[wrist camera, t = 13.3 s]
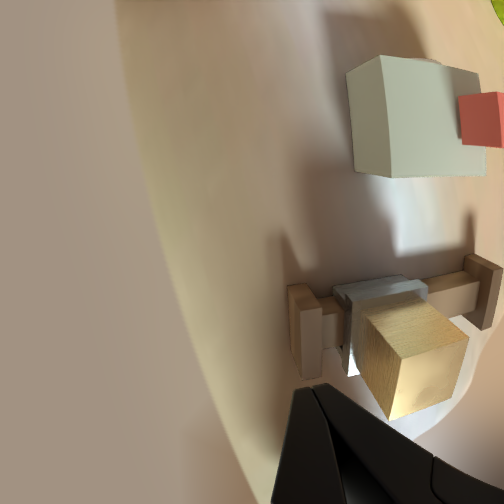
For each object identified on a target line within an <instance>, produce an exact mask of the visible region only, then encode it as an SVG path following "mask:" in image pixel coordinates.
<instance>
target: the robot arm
mask: <svg viewBox="0 0 504 504" xmlns="http://www.w3.org/2000/svg"><path fill="white" fill-rule="evenodd" d="M271 504H504V490H502V489H500V488H497V487H495V486H492V485H490V484H487V483H485V482H483V481H480V480H478V479H476V478H474V477H472V476H470V475H468V474H465V473H464V472H462V471H460V470H458V469H456V468H455V467H453V466H451V465H450V464H448V463H446V462H445V461H443V460H441V459H440V458H438V457H436V456H435V457H433V454H432V453H430V452H428V451H427V450H425V449H424V448H422V447H421V446H419V445H417V444H416V443H414V442H413V441H411V440H410V439H408V438H407V437H405V436H404V435H402V434H401V433H399V432H398V431H396V430H395V429H393V428H392V427H390V426H389V425H387V424H386V423H384V422H383V421H381V420H380V419H378V418H377V417H375V416H374V415H373V414H371V413H370V412H368V411H367V410H365V409H364V408H362V407H361V406H360V405H358V404H357V403H355V402H354V401H352V400H351V399H350V398H348V397H347V396H345V395H344V394H343V393H341V392H340V391H338V390H337V389H336V388H334V387H333V386H331V385H330V384H328V383H325V384H320V385H315V386H312V387H311V388H310V387H304V388H299V389H295V390H294V391H293V394H292V400H291V406H290V411H289V416H288V422H287V427H286V432H285V437H284V442H283V447H282V452H281V457H280V461H279V466H278V471H277V475H276V480H275V484H274V489H273V493H272V497H271Z"/></svg>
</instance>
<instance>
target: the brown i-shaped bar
mask: <svg viewBox="0 0 504 504" xmlns="http://www.w3.org/2000/svg"><path fill="white" fill-rule="evenodd" d="M502 274H503V268H502V267H500V266H498V265H496V264H494V263H492V262H490V261H488V260H486V259H484V258H482V257H480V256H478V255H476V254H472V255H467V256H465V260H464V269H463V271H459V272H455V273H450V274H446V275H441V276H436V277H432V278H427V279H422V280H420V281H422V282H423V283H425V284H426V285H427V286H428V295H427V303H429V304H430V305H431V306H432V307H434V308H435V309H436V310H437V311H439V312H440V313H441V314H442V315H443V316H445V317H446V318H447V319H448V318H452V317H455V316H458V315H462V316H463V317H465V318H466V319H467V320H468V321H470V322H471V323H472V324H473V325H475V326H476V327H477V328H478V329H480V330H481V331H482V330H484V329H487V328H490V327H491V326H492V322H493V318H494V313H495V309H496V305H497V300H498V295H499V290H500V285H501V280H502ZM287 290H288V306H289V324H290V343H291V352H292V354H293V357H294V360H295V362H296V365H297V368H298V371H299V373H300V376H301V379H302V381H303V380H308V379H313V378H318V377H322V349H326V348H331V347H336V346H341V345H343V336H344V309H343V307H342V306H341V305H340V303H339V302H338V301H337V300H336V298H335V297H334V296H331V297H325V298H319V299H316V297H315V296H314V294H313V293H312V291H311V290H310V288H309V287H308V285H307V284H306V283H303V284H297V285H290V286H287Z"/></svg>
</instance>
